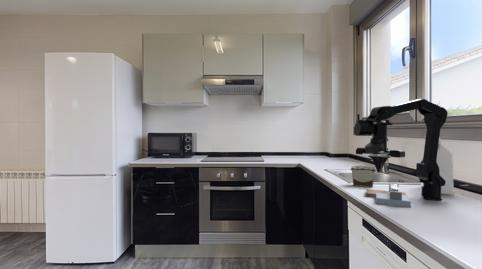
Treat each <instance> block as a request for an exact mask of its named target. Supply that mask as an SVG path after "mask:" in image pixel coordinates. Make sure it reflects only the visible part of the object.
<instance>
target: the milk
mask: <svg viewBox="0 0 482 269" xmlns="http://www.w3.org/2000/svg"><path fill="white" fill-rule="evenodd" d="M441 142H442V141H441V137H439V145H438V152H437V160H436V162H437V164H438V166H439V171H440V176H441V177H442V178H443V179H444V180H445V181H446V182H445V185H444V186H441V195H453V194H454V192H455V191H454V163H453V162H454V161H453V160H454V159H453V154H452V152H450V150H448V149H447V148H446V147H445V146H444V145H443V144H441ZM423 155H424V150H423V152H422V156H423ZM422 160H423V158H422V159H421V161H422ZM421 186H423V183H421V182H420V187H421Z"/></svg>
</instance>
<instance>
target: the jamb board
mask: <svg viewBox="0 0 482 269" xmlns="http://www.w3.org/2000/svg"><path fill="white" fill-rule="evenodd" d="M401 192H402V195H407V193H406V192H404V191H401ZM365 193H366V194H365V196H366V197H369V198H376V193H385V194H390V192H389V190H381V189H369V188H367V189H366V191H365Z"/></svg>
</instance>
